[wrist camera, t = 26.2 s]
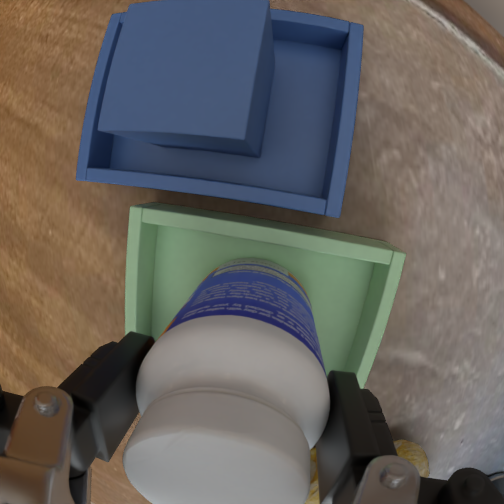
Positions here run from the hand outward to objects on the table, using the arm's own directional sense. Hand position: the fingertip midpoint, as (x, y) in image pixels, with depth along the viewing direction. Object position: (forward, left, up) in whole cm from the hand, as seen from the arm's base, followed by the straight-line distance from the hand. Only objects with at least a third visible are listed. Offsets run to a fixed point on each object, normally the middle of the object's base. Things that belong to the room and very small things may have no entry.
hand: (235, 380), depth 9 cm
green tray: (0, 0, -6) cm, 6 cm away
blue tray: (+3, -9, -6) cm, 11 cm away
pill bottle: (0, 0, -6) cm, 6 cm away
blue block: (+3, -9, -6) cm, 11 cm away
